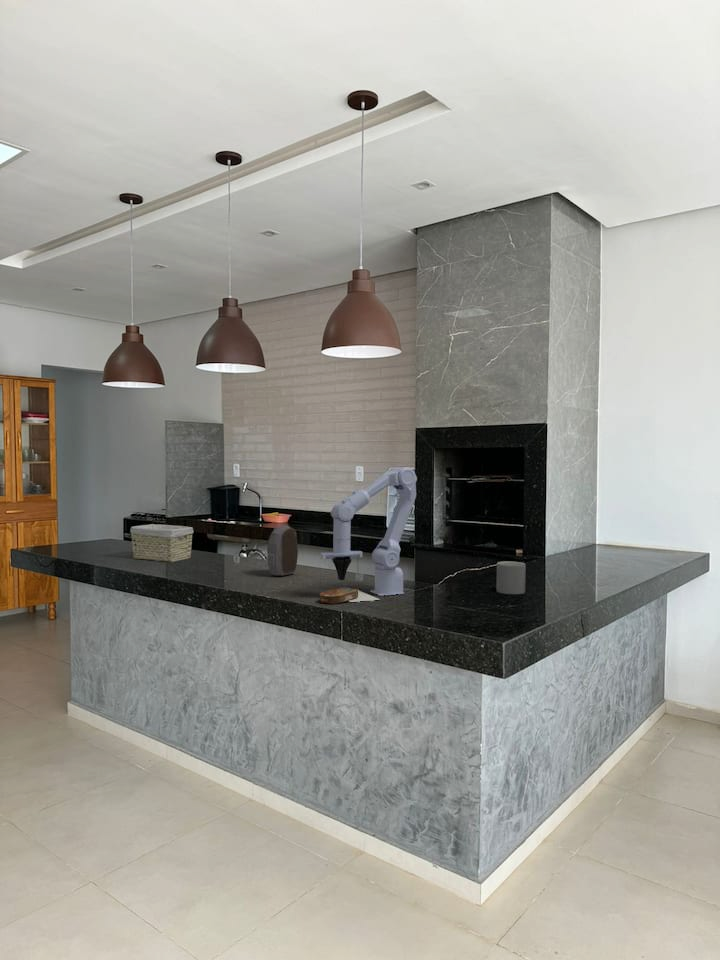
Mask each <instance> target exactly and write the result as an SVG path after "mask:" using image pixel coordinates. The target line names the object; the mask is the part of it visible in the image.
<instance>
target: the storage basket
mask: <svg viewBox="0 0 720 960" xmlns="http://www.w3.org/2000/svg"><path fill="white" fill-rule="evenodd" d="M129 531H130V535H131V543H132V552H133V556H132V557H133V558H134V559H138V560H147V561H150V560H151V561H156V562H166V563H167V562H171V563H174V562H179V561H184V560H188V559H190V558H191V554H192V544H193V542H192V541H193V534H194V528H193V526H192V527H191V526H187V525H186V526H184V525H172V524H171V525H169V524H154V523H150V524H141V525H134V526H131V527H130V530H129Z"/></svg>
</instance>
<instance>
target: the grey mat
mask: <svg viewBox="0 0 720 960" xmlns="http://www.w3.org/2000/svg"><path fill="white" fill-rule="evenodd" d="M374 600H380V601H381V599H380V598H378V597H375V596H373V595H371V594H368V593H366V592H363V591H361V590H359V589H358V597H357V598H355V599H352V600H349V602H348V603H350V602H358V603H361V602H360V601H370V602H375V601H374Z"/></svg>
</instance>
